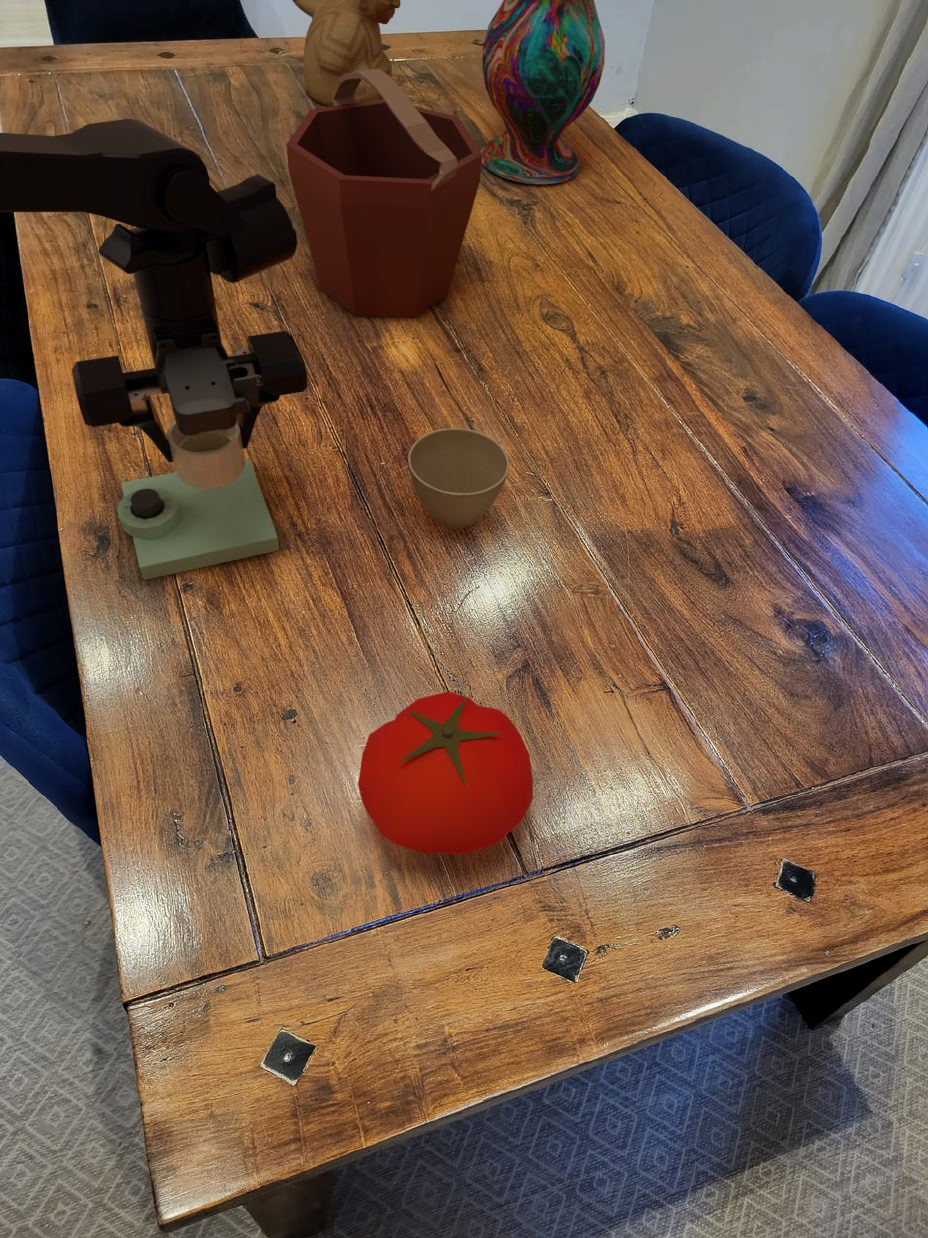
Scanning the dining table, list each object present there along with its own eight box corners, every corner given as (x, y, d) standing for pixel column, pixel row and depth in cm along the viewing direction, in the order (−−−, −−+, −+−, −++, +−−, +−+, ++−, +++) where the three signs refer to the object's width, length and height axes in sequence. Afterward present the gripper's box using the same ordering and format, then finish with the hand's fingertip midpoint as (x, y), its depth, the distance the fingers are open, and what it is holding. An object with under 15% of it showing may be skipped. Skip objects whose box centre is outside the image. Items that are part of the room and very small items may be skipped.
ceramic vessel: (385, 123, 148) (386, -57, 129) (275, 103, 150) (259, -78, 131) (411, 86, 159) (416, -86, 139) (309, 68, 161) (299, -105, 141)
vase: (586, 145, 149) (624, -73, 126) (584, 196, 138) (626, -34, 114) (479, 132, 149) (498, -89, 126) (468, 181, 138) (486, -51, 114)
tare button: (136, 521, 83) (132, 509, 82) (132, 503, 84) (128, 491, 83) (164, 516, 84) (161, 504, 83) (159, 497, 85) (156, 486, 84)
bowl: (182, 498, 80) (173, 460, 77) (170, 453, 84) (161, 416, 80) (252, 484, 82) (246, 447, 79) (237, 441, 86) (231, 404, 82)
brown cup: (516, 534, 90) (525, 482, 85) (425, 555, 87) (428, 503, 82) (480, 471, 96) (486, 418, 90) (393, 489, 93) (394, 436, 87)
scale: (135, 582, 82) (127, 557, 80) (117, 497, 89) (109, 471, 86) (279, 550, 86) (276, 525, 84) (251, 471, 93) (247, 445, 90)
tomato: (508, 731, 75) (523, 659, 67) (537, 868, 68) (559, 806, 60) (352, 746, 73) (349, 674, 65) (365, 889, 66) (363, 827, 58)
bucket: (486, 329, 113) (508, 123, 93) (315, 347, 108) (301, 132, 88) (436, 233, 127) (446, 36, 107) (283, 244, 122) (265, 40, 102)
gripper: (64, 379, 62) (115, 533, 74) (320, 340, 68) (328, 490, 80) (48, 295, 68) (98, 450, 81) (284, 265, 74) (297, 415, 86)
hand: (207, 452), depth 82 cm, fingers closed on bowl, 6 cm apart
